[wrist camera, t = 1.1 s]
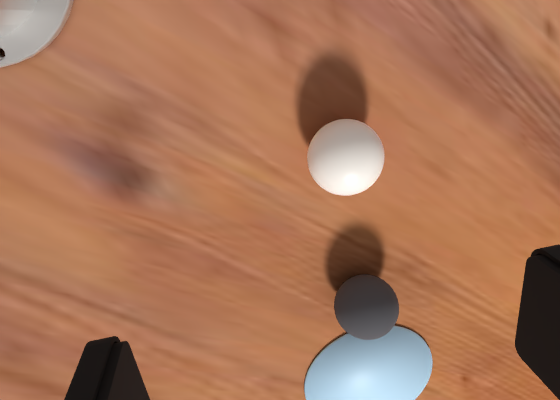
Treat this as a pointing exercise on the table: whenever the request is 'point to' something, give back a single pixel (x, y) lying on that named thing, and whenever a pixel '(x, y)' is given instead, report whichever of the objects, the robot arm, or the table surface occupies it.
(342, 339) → the blue mark
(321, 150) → the ivory ball
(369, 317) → the black ball
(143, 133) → the table surface
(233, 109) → the table surface
